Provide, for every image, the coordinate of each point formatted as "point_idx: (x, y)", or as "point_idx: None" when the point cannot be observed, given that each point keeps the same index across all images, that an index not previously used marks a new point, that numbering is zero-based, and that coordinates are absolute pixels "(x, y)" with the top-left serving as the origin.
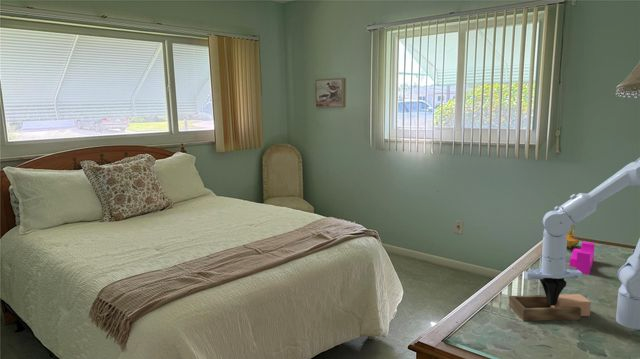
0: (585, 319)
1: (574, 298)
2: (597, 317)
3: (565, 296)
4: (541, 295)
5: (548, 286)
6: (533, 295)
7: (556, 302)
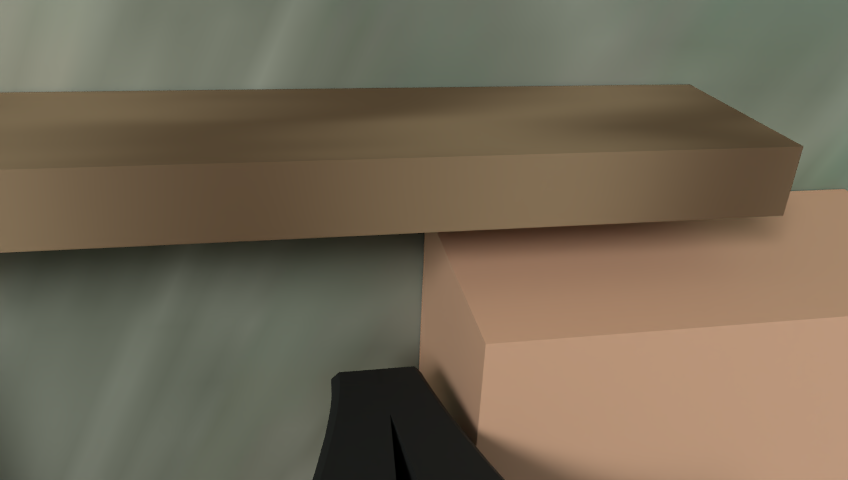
0: None
1: (789, 473)
2: None
3: (707, 410)
4: (339, 174)
5: None
6: (140, 173)
7: None
